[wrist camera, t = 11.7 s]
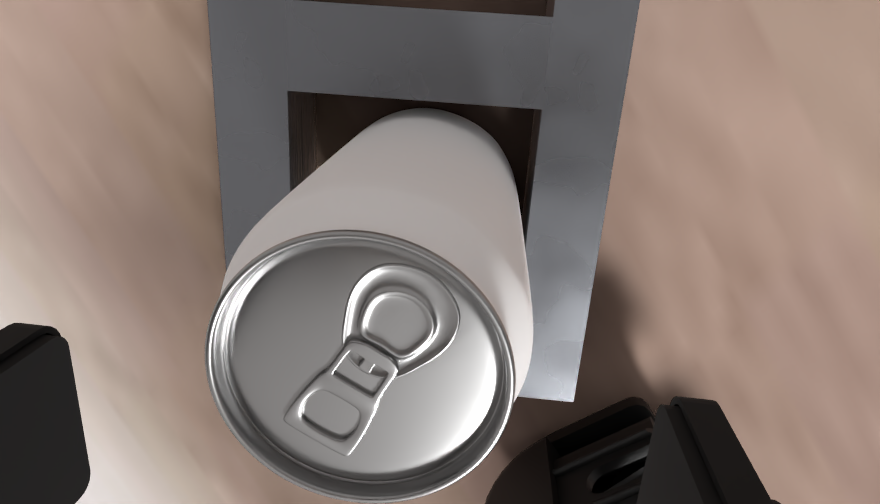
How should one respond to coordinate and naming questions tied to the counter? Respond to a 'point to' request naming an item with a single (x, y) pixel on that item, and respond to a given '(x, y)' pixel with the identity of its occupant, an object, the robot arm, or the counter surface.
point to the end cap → (583, 461)
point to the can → (379, 315)
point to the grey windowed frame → (439, 80)
